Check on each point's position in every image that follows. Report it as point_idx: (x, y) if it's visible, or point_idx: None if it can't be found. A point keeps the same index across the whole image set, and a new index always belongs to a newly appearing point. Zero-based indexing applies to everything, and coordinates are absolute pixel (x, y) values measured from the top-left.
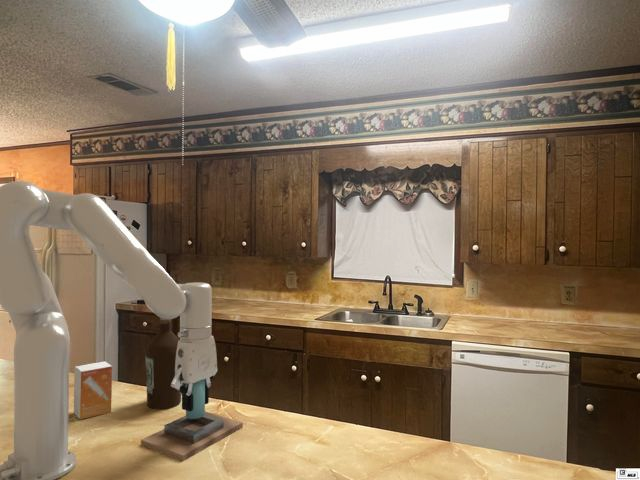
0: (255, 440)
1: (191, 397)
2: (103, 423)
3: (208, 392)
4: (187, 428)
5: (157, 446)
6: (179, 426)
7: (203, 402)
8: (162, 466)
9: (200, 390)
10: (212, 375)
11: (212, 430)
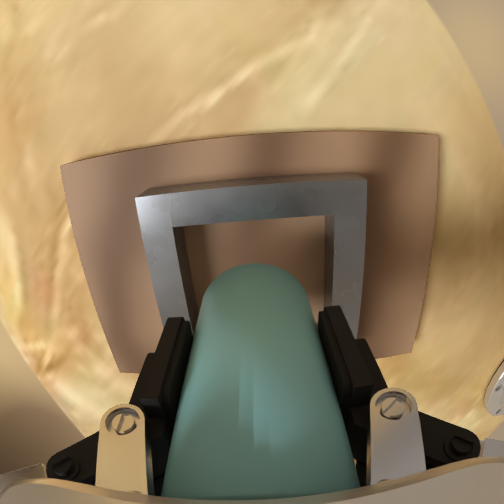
0: (123, 22)
1: (366, 369)
2: None
3: (150, 369)
4: None
5: (426, 276)
6: None
7: (232, 316)
8: (475, 170)
9: (277, 396)
10: (69, 485)
11: (225, 183)
